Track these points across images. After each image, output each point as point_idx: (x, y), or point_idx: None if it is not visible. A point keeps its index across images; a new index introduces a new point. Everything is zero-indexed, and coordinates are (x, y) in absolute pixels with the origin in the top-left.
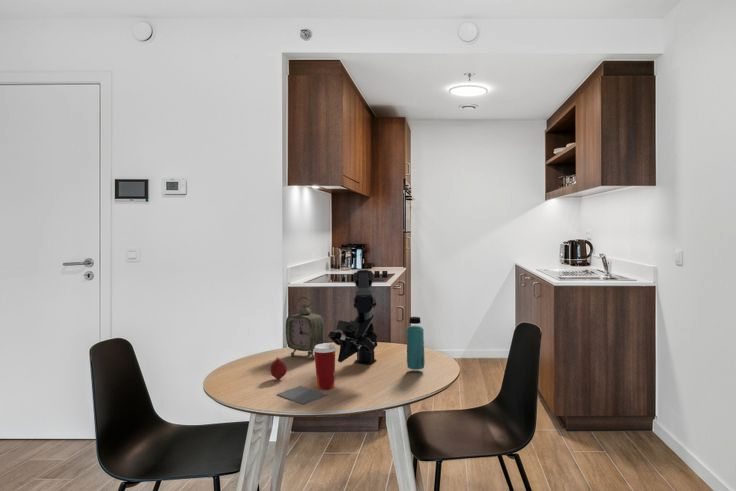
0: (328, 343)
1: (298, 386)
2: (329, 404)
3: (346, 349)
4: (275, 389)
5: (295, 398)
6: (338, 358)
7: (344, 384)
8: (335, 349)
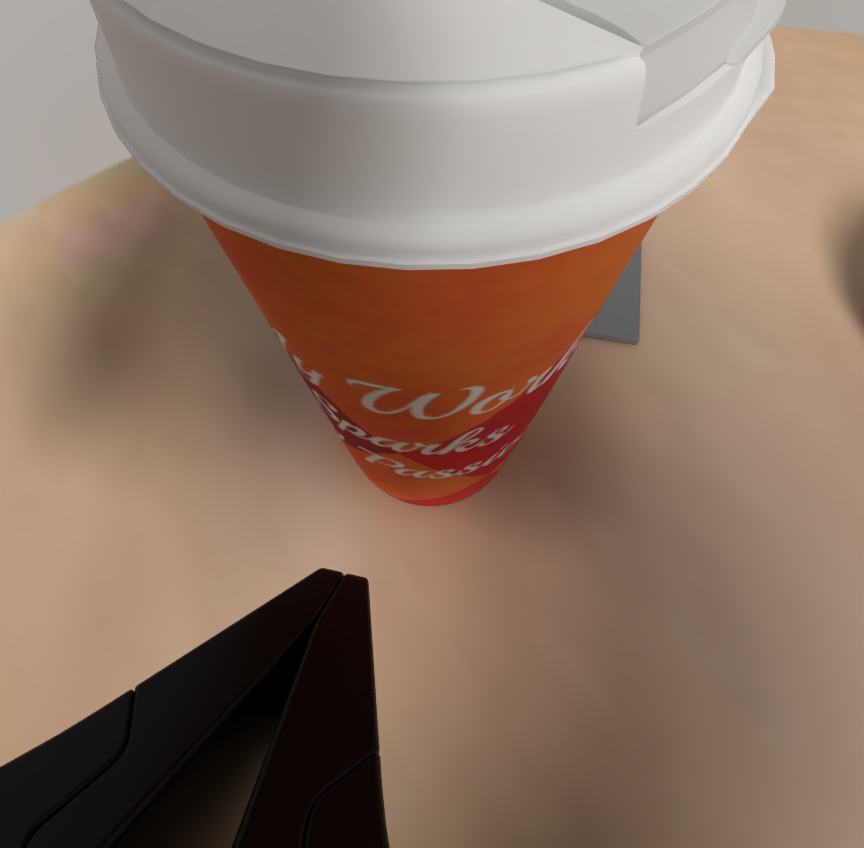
0: (540, 74)
1: (638, 319)
2: None
3: (7, 775)
4: (746, 227)
5: None
6: (359, 601)
7: (298, 579)
8: (96, 55)
